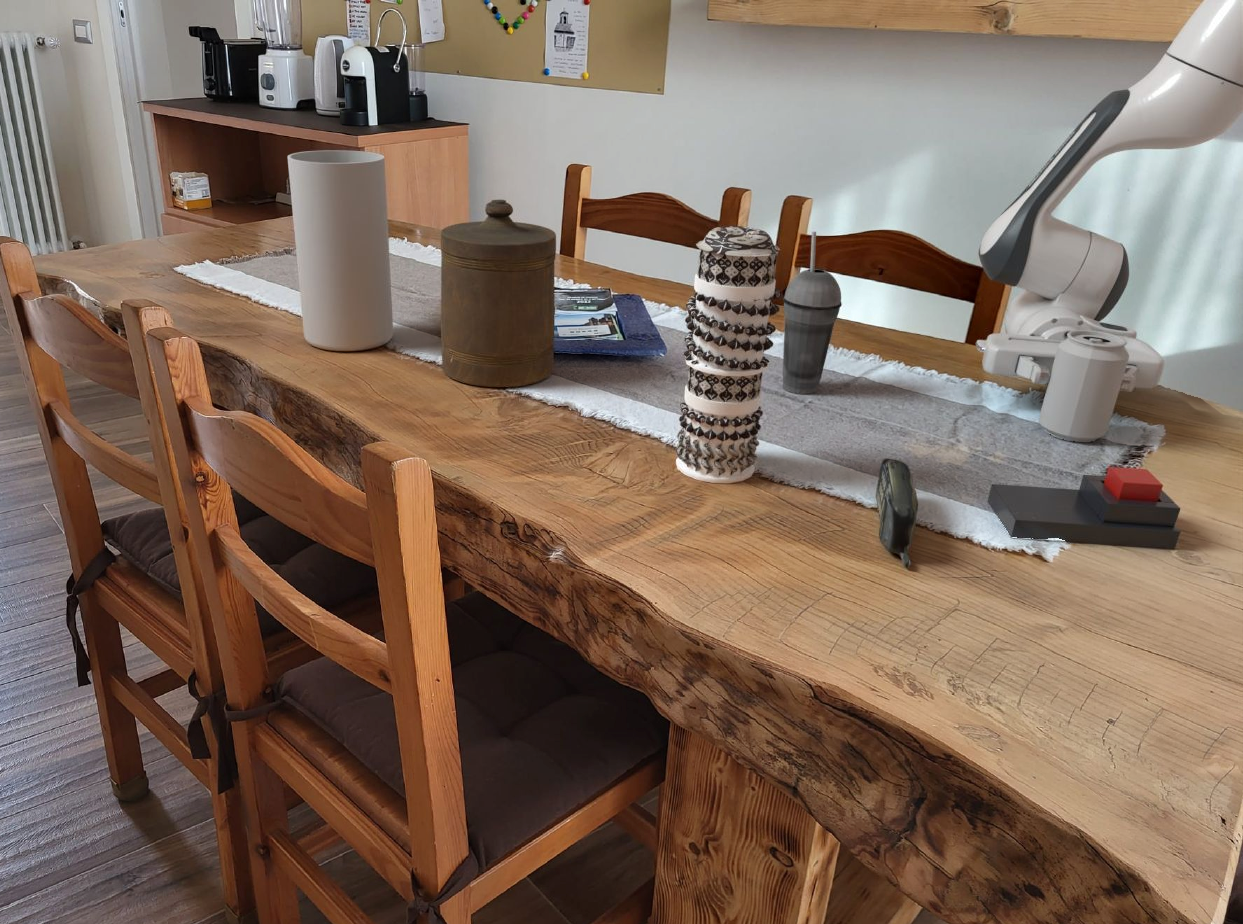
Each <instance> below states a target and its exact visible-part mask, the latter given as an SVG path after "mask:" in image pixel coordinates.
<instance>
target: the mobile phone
mask: <svg viewBox="0 0 1243 924" xmlns="http://www.w3.org/2000/svg"><path fill="white" fill-rule="evenodd" d="M875 499H876V504H877V510H878V516H879V529H878V538H879V541H880V543H881V545H882V546H883V547H884V548H885V550H886V551H887V552H888V553H889V552H890V553H894V554H897V555H899V557H900V558H901V562H902V566H903V567H904V569H905V568H906V569H910V567H911V566H912V564H911V563H912V562H911V560H910V558H909V551H910V549H911V547H912V543H913V540H914V535H915V531H916V524H917V514H918V510H919V509H918V508H919V500H918V496H917V491H916V489H915V486H914V481H913V476H912V472H911V469H910V466H908V464H907V463H905V462H903V461H901V460H898V459H894V458H884V459H883V460H882V462H881V464H880V469H879V475H878V480H877V484H876V490H875Z"/></svg>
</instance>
